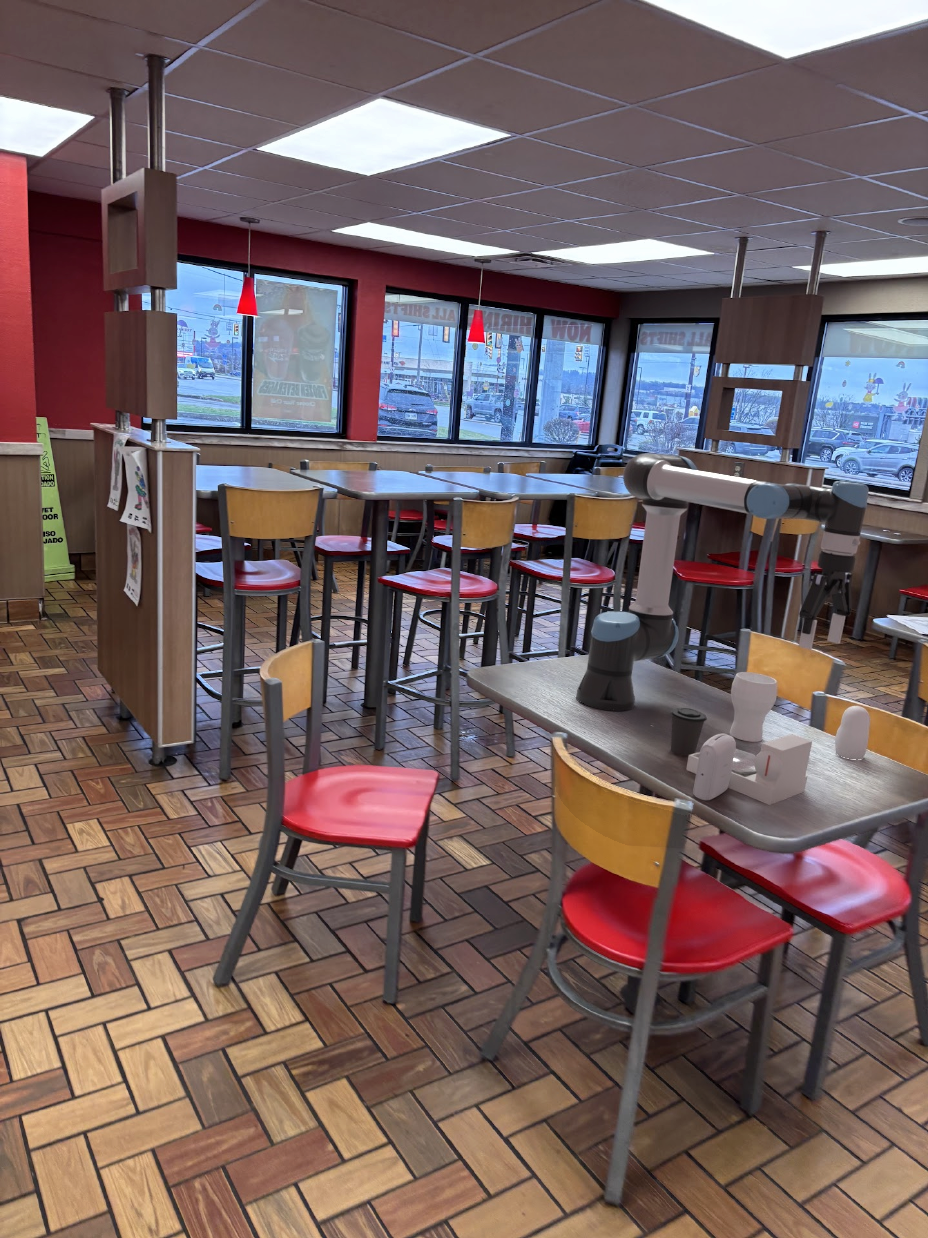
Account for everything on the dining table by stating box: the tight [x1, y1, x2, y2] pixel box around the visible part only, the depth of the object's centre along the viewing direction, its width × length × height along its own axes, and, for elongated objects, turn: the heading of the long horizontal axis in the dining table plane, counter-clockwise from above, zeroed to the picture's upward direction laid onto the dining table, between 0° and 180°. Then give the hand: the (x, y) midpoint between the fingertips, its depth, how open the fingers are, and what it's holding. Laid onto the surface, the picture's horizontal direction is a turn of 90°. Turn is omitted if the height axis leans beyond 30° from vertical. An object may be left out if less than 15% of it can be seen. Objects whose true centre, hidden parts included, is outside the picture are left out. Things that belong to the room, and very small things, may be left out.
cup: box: [729, 671, 778, 743], centre depth 220 cm, size 11×11×15 cm
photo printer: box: [692, 733, 737, 801], centre depth 183 cm, size 10×4×12 cm, turn 140°
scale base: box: [685, 733, 813, 806], centre depth 192 cm, size 21×14×11 cm
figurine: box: [834, 705, 871, 760], centre depth 215 cm, size 7×8×12 cm
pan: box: [731, 748, 757, 774], centre depth 195 cm, size 12×12×3 cm
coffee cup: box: [670, 707, 708, 758], centre depth 205 cm, size 8×8×10 cm
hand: (819, 645), depth 205 cm, fingers open, 13 cm apart
